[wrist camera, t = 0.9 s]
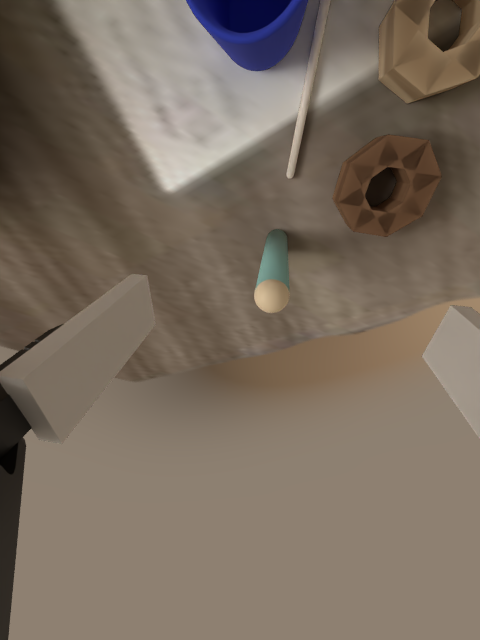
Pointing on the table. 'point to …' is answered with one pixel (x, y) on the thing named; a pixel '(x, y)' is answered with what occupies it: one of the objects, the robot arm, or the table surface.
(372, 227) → the walnut bead
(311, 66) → the thin beige rod
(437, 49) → the maple bead
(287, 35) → the mug
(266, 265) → the teal rod
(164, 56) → the table surface
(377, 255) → the table surface
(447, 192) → the table surface
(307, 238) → the table surface
